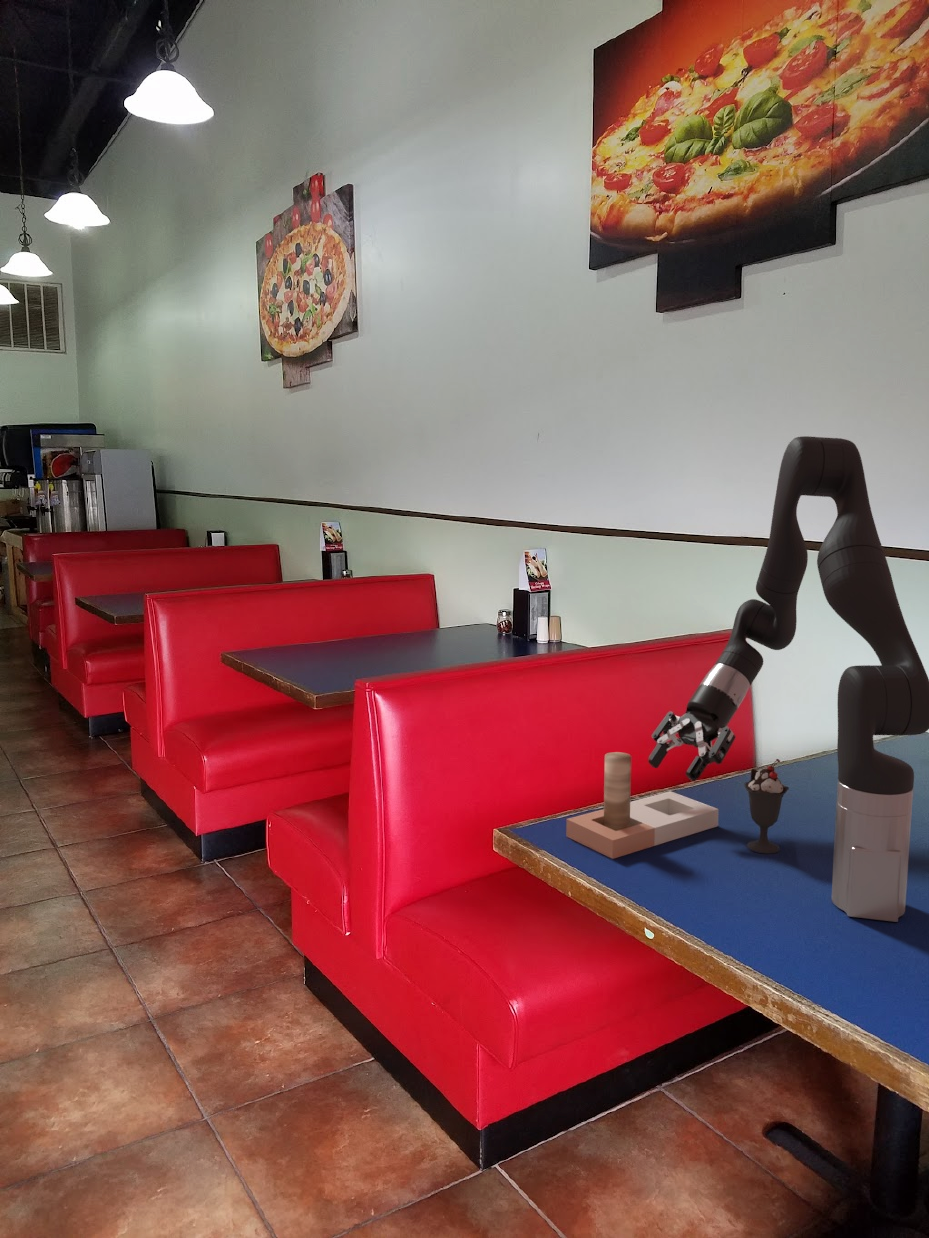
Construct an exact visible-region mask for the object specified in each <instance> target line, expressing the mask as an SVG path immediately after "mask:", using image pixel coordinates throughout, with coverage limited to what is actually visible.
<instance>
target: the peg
mask: <svg viewBox="0 0 929 1238" xmlns="http://www.w3.org/2000/svg"><path fill="white" fill-rule="evenodd" d="M631 777H632V756H631V755H630V754H629V753H626V752H620V751H614V752H607V753H606V754H604V777H603V778H604V780H603V781H604V782H603V784H604V786H603V793H604V794H603V809H604V826H606V827H608V828H610V829H612V830H615V831H618V830H622V829H625V828H629V827H630V802H631V787H632V785H631V784H632V783H631V780H632V778H631Z"/></svg>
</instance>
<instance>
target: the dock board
mask: <svg viewBox="0 0 929 1238" xmlns="http://www.w3.org/2000/svg"><path fill="white" fill-rule="evenodd" d="M719 810H720V809H719V808H717V807H715V806H712V805H711V806H710V805H709V804H705V803H703V802H700V801H697V800H696V799H692V798H690V797H687V796H685V795H681V794H679V793H676V792H674V791H671V790H669V791H665V792H661V793H658V794H654V795H651V796H647V797H644V798H639V799H636V800H632V801H630V827H629V828H625V829H622V830H618V831H615V830H612V829H610V828H608V827H606V826H604V808H603V809H600V810H595V811H592V812H587V813H583V814H581V815H577V816H573V817H569V818H566V834H565V835H566V838H569V839H570V840H573V841H575V842H577V843H579V844H581V845H583V846H585V847H587V848H589V849H591V850H593V851H595V852H597V853H599V854H602V855H603V856H606V857H608V858H609V859H612V860H614V859H617V858H620V857H623V856H626V855H630V854H633V853H635V852H638V851H639V852H640V851H642V850H646V849H649V848H653V847H655V846H659V845H661V844H664V843H668V842H671V841H675V840H677V839H680V838H684V837H687V836H691V835H694V834H697V833H700V832H703V831H706V830H710V829H714V828H716V827H719Z"/></svg>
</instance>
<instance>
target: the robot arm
mask: <svg viewBox="0 0 929 1238" xmlns="http://www.w3.org/2000/svg"><path fill="white" fill-rule="evenodd" d="M802 496H805V497H806V496H808V497H809V496H810V497H824V498H831V500H833V502H834V503H835V506H836V511H837V516H836V518H835V521H834V523H833V524H832V527H831V528H830V529H829V531H828V532H827V534H826V536H825V537H824V540H823V542H822V543H821V546H820V548H819V550H818V553H817V561H816V565H817V570H818V575H819V579H820V582H821V586H822V590H823V595H824V597H825V599H826V602H827V603H828V605H829V606H830V607H831V609H833V611H834V612H835V614H837V615H838V617H840V618H841V619H842V620H843V622H845V623H846V624H847V625H848V626H850V628H852V629H853V630H854V631H855V632H856V633H857V634H859V635H860V636H861V637H862V638H863V639H864V640H865V641H866V643H868V645H869V646H870V647H871V648H872V650H873V651H874V653H875V654H876V656H877V658H878V660H879V662H880V664H879V665H869V664H868V665H865V664H864V665H852V666H849V667H847V668H846V669H845V670H844V671H843V672H842V674H841V676H840V679H839V684H838V688H837V689H838V690H837V746H836V747H837V749H836V750H837V753H836V754H837V765H838V766H837V768H838V769H837V771H838V772H837V790H836V791H837V794H836V810H835V825H834V826H835V827H834V828H835V829H834V844H833V845H834V846H833V864H832V881H831V884H832V886H831V897H830V898H831V902H832V903H833V904H834V905H835V906H836V907H837V908H838V909H840V910H841V911H844V912H845V913H846V916H848V917H852V918H862V919H867V920H868V919H869V920H877V921H886V922H895V923H896V922H897V923H898V922H899V918H900V917H901V916H903V915H904V914H905V912H906V903H907V889H908V887H907V886H908V872H909V871H908V870H909V856H910V855H909V854H910V843H911V841H910V840H911V826H912V825H911V823H912V810H913V798H914V797H913V795H914V784H915V783H914V781H915V771H914V768H913V767H912V766H911V765H910V764H909V763H907V762H906V761H905V760H902V759H901V758H897V757H895V756H893V755H892V756H891V755H889V754H886V753H883V752H881V751H879V750H877V749H875V746H874V736H916V735H921V734H924V733H927V732H928V731H929V677H928V674H927V671H926V669H925V666H924V664H923V662H922V660H921V657H920V655H919V652H918V651H917V648H916V646H915V643H914V641H913V639H912V636H911V634H910V632H909V629H908V627H907V624H906V621H905V618H904V615H903V612H902V609H901V607H900V602H899V599H898V596H897V593H896V590H895V585H894V581H893V578H892V573H891V571H890V566H889V564H888V560H887V556H886V553H885V551H884V548H883V544H882V543H881V540H880V536H879V534H878V533H879V532H878V531H877V527H876V526H877V525H876V524H875V520H874V515H873V512H872V508H871V504H870V498H869V492H868V487H867V482H866V477H865V470H864V466H863V461H862V458H861V453H860V451H859V449H858V447H857V446H856V444H855V443H854V442H853V441H851V440H849V439H846V438H841V437H840V438H839V437H825V436H824V437H822V436H809V435H808V436H797V437H794V438H793V439H792V440H791V441H790V442H788V445H787V446H786V448H785V451H784V453H783V456H782V459H781V463H780V467H779V472H778V479H777V486H776V492H775V498H774V503H773V510H772V516H771V517H772V518H771V524H770V533H769V538H768V543H767V548H766V551H765V555H764V559H763V561H762V564H761V568H760V571H759V574H758V577H757V581H756V584H755V591H756V593H757V595H758V596H759V598H761V599H762V600H763V601H762V600H760V599H754V598H752V599H748V600H746V601H744V602H743V603H742V604H741V605H740V606H739V607H738V609H737V611H736V614H735V618H734V622H733V626H732V630H731V632H730V633H731V634H730V636H729V639H728V641H727V643H726V645H725V648H724V649H723V651H722V652H721V654H720V656H719V657H718V658H717V660H716V662H715V663H714V665H713V666H712V667H711V669H710V670H709V671H708V672H707V673H706V674H705V676H704V678H703V679H702V680H701V682H700V684H698V687H697V688H696V690H695V691H694V693H693V694H692V696H691V698H690V700H688V702H687V705H686V710H685V713H684V714H682V715H680V716H679V715H675V713H674V712H673V711H668V712H667V713H666V714H665V716H664V718H663V719H661V721H660V723H659V724H658V726H657V727H656V729H654V731H653V733H652V734H651V738H652V740H653V741H655V743H656V746H655V747H654V748H653V750H652V751H651V753H650V755H649V756H648V764H649V765H650V766H651V767H652V768H655V769H658V768H659V767H660V765H661V763H662V762H663V760H664V759H665V757H666V756H667V754H668V753H669V752H668V751H669V750H672V749H673V748H675V747H681V746H682V745H687V746H693V747H694V748H697V749H698V755H695V758H693V761H692V762H691V763H690V765H689V767H688V768H687V770H686V772H685V776H686V778H688V779H689V781H693V782H695V781H697V779H700V777H701V776H702V774H703V772H704V771H705V769H706V767H707V766H708V765H710V764H712V763H716V764H717V765H720V764H722V763H723V761H724V759H725V758H726V756H727V753H728V752H729V751H730V748H731V746H732V745H733V743H734V742H735V739H736V735H735V734H734V732H733V731H732V729H731V728H730V727H729V726H728V725H729V723H730V722H731V721H732V719H733V717H734V715H735V714H736V712H737V711H738V709H739V707H740V705H741V704H742V702H743V701H744V699H745V698H746V696H747V693H748V691H749V688H750V687H751V685H752V684H753V682H754V681H755V679H756V677H757V676H758V675H759V673H760V671H761V669H762V668H763V665H764V658H763V656H762V654H761V653H760V652H759V650H757V649H756V648H755V647H754V646H752V645H751V644H750V643H749V642H748V641H747V640H746V639H749V640H751V641H752V642H755V643H758V644H759V645H761V646H765V647H766V648H768V649H771V650H774V651H780V650H784V649H785V648H787V647H788V646H789V645H790V644H791V643H792V641H793V640H794V638H795V635H796V631H797V603H798V602H797V601H798V594H799V590H800V587H801V585H802V582H803V579H804V576H805V573H806V570H807V566H808V559H809V558H808V557H809V556H808V548H807V545H806V542H805V539H804V536H803V533H802V530H801V528H800V525H799V521H798V516H797V515H798V514H797V512H798V509H797V508H798V504H799V501H800V498H801V497H802ZM677 734H678V737H677V736H676V735H677ZM714 740H715V742H714V743H713V741H714Z"/></svg>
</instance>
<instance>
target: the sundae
mask: <svg viewBox="0 0 929 1238" xmlns="http://www.w3.org/2000/svg"><path fill="white" fill-rule="evenodd" d="M780 762H781V760H780V759H778V758H776V759H775V761H773V763H772V764H771V765H768V766H767V767H766V768H761V769H759V770H757V769H755V768H751V769H750V780H749V781H746V782H743V786H744V788H745V790H746V791H747V792H748V798H749V801H748V802H749V810H750V815H751V819H752V821H753V822H754V823H755V824H756V825H757V826H758V827H759V830H760V831H759V836H758V837H759V838H758V839H757V840H752V841H749V842H748V843H746V847H747V848H748V850H749V851H752V852H753V853H758V854H766V855H771V854H772V855H773V854H777V853H778V852H779V851H780V847H779V845H778V844H776V843H773V842H770V840H769V838H768V837H769V836H768V830H769V828H770V827H772V826H773V825H775V824H776V823H777V821H778V819H779V816H780V813H781V812H780V811H781V805H782V801H783V797H784V795H785V794H786V793H787V792H788V791H789V789H790V787H788V786H786V785H784V784H783V783H782V781H781V780H780V778H779V777H778V776H779V774H778V773H777V772H775V766H776V764H778V763H780Z"/></svg>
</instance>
